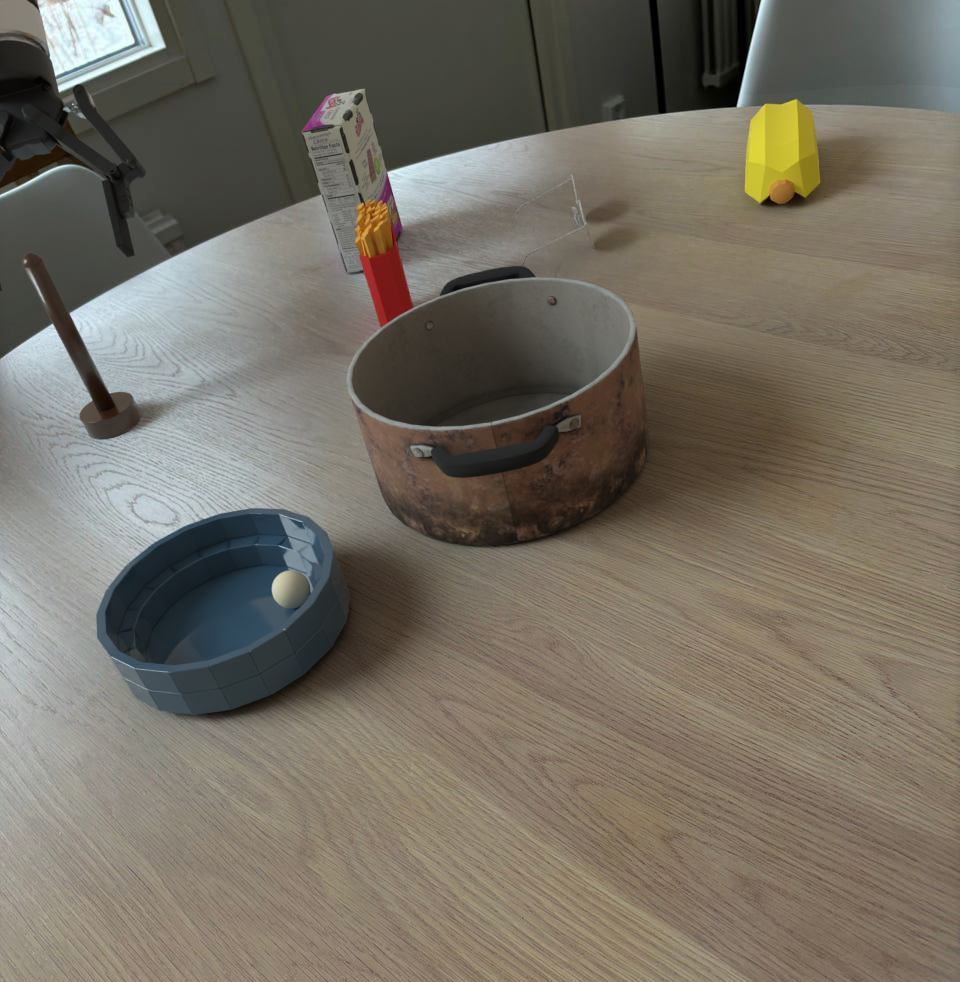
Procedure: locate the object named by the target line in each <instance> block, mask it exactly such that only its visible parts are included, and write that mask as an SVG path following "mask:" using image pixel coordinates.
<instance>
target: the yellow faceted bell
mask: <svg viewBox="0 0 960 982" xmlns="http://www.w3.org/2000/svg"><path fill="white" fill-rule="evenodd" d="M817 139H818V138H817V134H816V127H815V122H814V115H813V111H812V110H811V109H809V108H808V107H807V106H806V105H804V104H803V103H802V102H801V101H800V100H798V99H797V98H795V99H792V100H790V101H786V102H784V103H780V104H779V103H764V105H763V106H762V107H761V108H760V109H759V110H758V111H757V113H756V114H755V115H754V116H753V117H752V118H751V119H750V122H749V128H748V137H747V144H746V150H745V151H746V153H745V171H744V172H745V173H744V174H745V175H744V177H745V178H744V193H745V194H746V195H748V196H749V197H750V198H751V199H752V200H754V201H755V202H756V203H757V204H759V205H762V204H763V203H764V202H765V201H766V200H767V199H770V200H771V201H772V202H774V203H776V204H778V205H782V204H787V203H788V202H789V201H790V200H792V198H794V196H795V193H797V194H798V195H800V196H801V198H802V199H804V200H805V199H806V198H807V197H808V196H809V195H810V194H811V193H812V192H813V191H814V190H815V189H816V188H817V187H818V186H819V184H820V183H821V174H820V157H819V149H818V147H819V146H818V140H817Z"/></svg>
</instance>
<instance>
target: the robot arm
mask: <svg viewBox="0 0 960 982" xmlns="http://www.w3.org/2000/svg"><path fill="white" fill-rule="evenodd" d="M69 113H74V114H75V116H76V117H77V118H79V119H83V120H86V121H87V122H88V123H89V124H90V126H91V127H92V128H93V130H95V132H96V133H97V134H98V135H99V136H100V138H101V139H102V140H103V141H104V142H105V143H106V144H107V146H109V149H111V150H112V151H113V153H114V154H115V155H116V156H117V157H118V159H119V160H120V161H121V163H119V164H116V162H112V161H111V160H109V159H107V157H105V156H104V155H102V154H101V153H99V152H97V151H96V150H95V149H93V148H92V147H91V146H89V144H88V145H87V144H86V143H85V142H83V141H82V140H81V139H79V138H78V137H77V136H75V135H74V134H73V133H72V132H70V131H68V130H67V129H66V128H64V127H65V125H66V123H67V120H68V117H69ZM56 146H58V147H59V148H61V149H62V150H63V151H65V152H66V153H68V154H69V155H72V156H73V157H74V158H76V159H78V160H79V161H80V162H82V163H83V164H84V165H86V166H87V167H88V168H90V169H91V170H93V171H94V172H96V173H97V174H98V175H100V176H101V177H103V178H104V180H101V185H102V189H103V193H104V199H105V202H106V206H107V211H108V215H109V220H110V224H111V229H112V232H113V236H114V241H115V246H116V247H117V249H119V250H120V252H122V254H124V255H125V257H126V258H131V257H134V256H135V255H136V254H135V251H134V246H133V241H132V236H131V232H130V229H129V224H128V220H130V219H133V218H135V214H136V210H135V206H134V201H133V198H132V192H131V189H130V188H131V187H130V186H131V183H132V182H133V181H134V180H136V179H138V180H140V179H143V178H144V177H145V176H146V173H147V171H146V169H145V167H144V166H143V165H142V164H141V162H140V161H139V160H138V158H137V157H136V156H135V154H134V153H133V152H132V151H131V150H130V149H129V147H128V146H127V145H126V144H125V142H124V141H123V140H122V139H121V138H120V137H119V136H118V135H117V133H116V132H115V131H114V130H113V128H111V126H110V125H109V124H108V123H107V122H106V121H105V119H104V118H103V117H102V116H101V114H100V111H99V109H98V106H97V104H96V101H95V99H94V98H93V97H92V96H91V94H90V93H89V91H88V90H87V89H86V87H85V86H84V85H83V84H81V83H78V84H76V85H74V86H73V87H72V93H71V94H67V95H66V96H63V97H61V96H60V90H59V86H58V81H57V77H56V72H55V69H54V64H53V61H52V58H51V53H50V47H49V44H48V39H47V35H46V30H45V25H44V20H43V17H42V14H41V10H40V6H39V1H38V0H0V149H2V153H1V152H0V183H1V182H2V180H3V179H4V176H5V174H6V173H7V172H8V171H11V170H12V168H13V166H14V165H15V162H16V160H17V159H19V160H20V161H26V160H29V159H31V158H33V157H34V156H38V155H47V154H51V153H52V150H53V149H54V148H55V147H56ZM2 291H3V288H2V284H1V283H0V292H2Z"/></svg>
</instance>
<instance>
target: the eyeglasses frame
mask: <svg viewBox="0 0 960 982" xmlns="http://www.w3.org/2000/svg"><path fill="white" fill-rule="evenodd" d="M569 176H570V179H568V180H567V179H566V181H564V182H562V183H559V185H556V186H554V187H553V188H551V189H549V190H547V191H546V192H544V193H542V194H540V195H538V196H537V197H535V198H533V199H531V200H529V201H526V202H524V203H523V204H521V205H520V206H519V207H518V208H517V209H516V212H515V214H514V218H513V221H512V224H511V227H513V228H514V226H515V224H516V220H517V216H518V213H519V211H520V209H521V208H524V207H525V206H526V205H528V204H530V203H532V202H533V201H535V200H536V199H539V198H540V197H542V196H545V195H546V194H548V193H550V192H552V191H554V190H556V189H558V188H560V187H562V186H564V185H566V184H568V183H570V182H571V183H572V186H573V191H574V193H575V194H574V195H575V202H576V204H577V206H578V207H575V206H572V208H571V211H572V213H573V218H574V221H575V223H576V225H577V226H578V227H579V228H577V229H575V230H572V231H571V232H569V233H567V234H565V235H563V236H561V237H559V238H557V239H555V240H553V241H551V242H549V243H547V244H545V245H542V246H540V247H537V248H536V249H534V250H532V251H529V253H527V254H526V255H525V256H524V258H523V261H522V263H521V266H524V265H525V262H526V260H527V258H528V257H529V256H530V255H532V254H534V253H535V252H537V251H540V250H542V249H543V248H545V247H547V246H549V245H551V244H553V243H556V242H558V241H561V240H562V239H565V238H566V237H569V236H572V235H573V234H575V233H578V232H579V231H581V230H584V229H585V230H586V233H587V236H588V239H589V241H590V244H591V247H592V249H593V250H595V249H596V247H595V244H594V240H593V238H592V235H591V232H590V229H589V225H588V223H587V217H586V214H585V212H584V211H585V210H584V209H583V206H582V202H581V199H580V196H579V193H578V189H577V186H576V183H575V179H574V176H573V174H572V173H571V174H570V175H569ZM579 212H580V213H579ZM581 219H582V220H581ZM582 222H583V223H584V225H583V223H582ZM524 267H525V266H524Z"/></svg>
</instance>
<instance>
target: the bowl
mask: <svg viewBox="0 0 960 982" xmlns="http://www.w3.org/2000/svg"><path fill="white" fill-rule="evenodd" d="M289 570H293V571H297V572H300V573H302V574H303V575H304V576H305V577H306V578H307V579H308V581H309V584H310V596H309V597H308V599H307V600H306V602H305V603H304V604H303V605H302V606H300V607H298V608H293V609H289V608H285V607H282V606H281V605H279V604H278V603H277V602H276V601H275V599H274V597H273V595H272V584H273V581H274V580H275V578H276V577H277V576H278V575H279V574H280V573H282V572H285V571H289ZM350 602H351V593H350V590H349V588H348V585H347V582H346V578H345V577H344V574H343V571H342V569H341V566H340V563H339V560H338V558H337V555H336V552H335V550H334V548H333V545H332V543H331V540H330V537H329V534H328V532H327V531H326V530H325V529H324V528H323V527H321V526H320V525H319V524H318V523H317V522H315V521H314V519H312V518H310V517H309V516H307V515H304V514H300V513H297V512H294V511H291V510H288V509H284V508H265V507H264V508H263V507H251V508H244V509H239V510H234V511H228V512H227V511H225V512H221V513H217V514H214V515H212V516H209V517H206V518H202V519H200V520H198V521H195V522H191V523H189V524H185V525H184V526H182V527H180V528H178V529H177V530H174V531H172V532H171V533H169V534H167V535H166V536H164V537H162V538H160V539H158V540H156V541H154V542H153V543H152V544H150V545H149V546H148V547H147V548H145V549H144V550H143V551H142V552H140V553H139V554H138V555H137V556H135V557H134V558H133V559H132V560H130V561H129V562H128V563H126V565H125V566H124V567H123V568H122V570H121V571H120V572H119V573H118V574H117V575H116V576H115V578H114V579H113V581H112V582H111V583H110V584H109V585H108V587H106V589H105V592H104V594H103V596H102V599H101V601H100V603H99V607H98V609H97V611H96V614H95V619H96V620H95V621H96V639H97V640H98V642H99V643H100V645H101V646H102V648H103V650H104V651H105V653H106V655H107V656H108V658H109V659H110V661H111V663H112V664H113V666H114V668H115V669H116V671H117V673H118V674H119V675H120V677H121V678H122V681H124V683H125V685H126V686H127V687H128V689H129V691H130V692H131V693H132V695H133V696H134V698H135V699H136V700H139V701H140V702H142V703H144V704H146V705H148V706H150V707H152V708H154V709H156V710H158V711H160V712H166V713H175V714H184V715H191V716H196V715H203V714H211V713H219V712H225V711H232V710H234V709H237V708H240V707H242V706H246V705H248V704H251V703H253V702H256V701H259V700H261V699H265V698H267V697H270V696H272V695H273V694H275V693H277V692H278V691H280V690H282V689H283V688H285V687H287V686H288V685H290V684H292V683H293V682H295V681H296V680H298V679H299V678H301V677H303V676H304V675H305V674H307V672H309V671H310V669H312V667H314V666H315V665H316V664H317V662H319V661H320V660H321V659H322V658H323V657H324V656H325V655H326V654H327V653H328V652H329V651H330V650H331V649H332V647H333V646H334V644H335V643H336V640H337V639H338V638H339V635H340V634H341V633H342V631H343V629H344V627H345V625H346V623H347V621H348V615H349V608H350Z"/></svg>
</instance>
